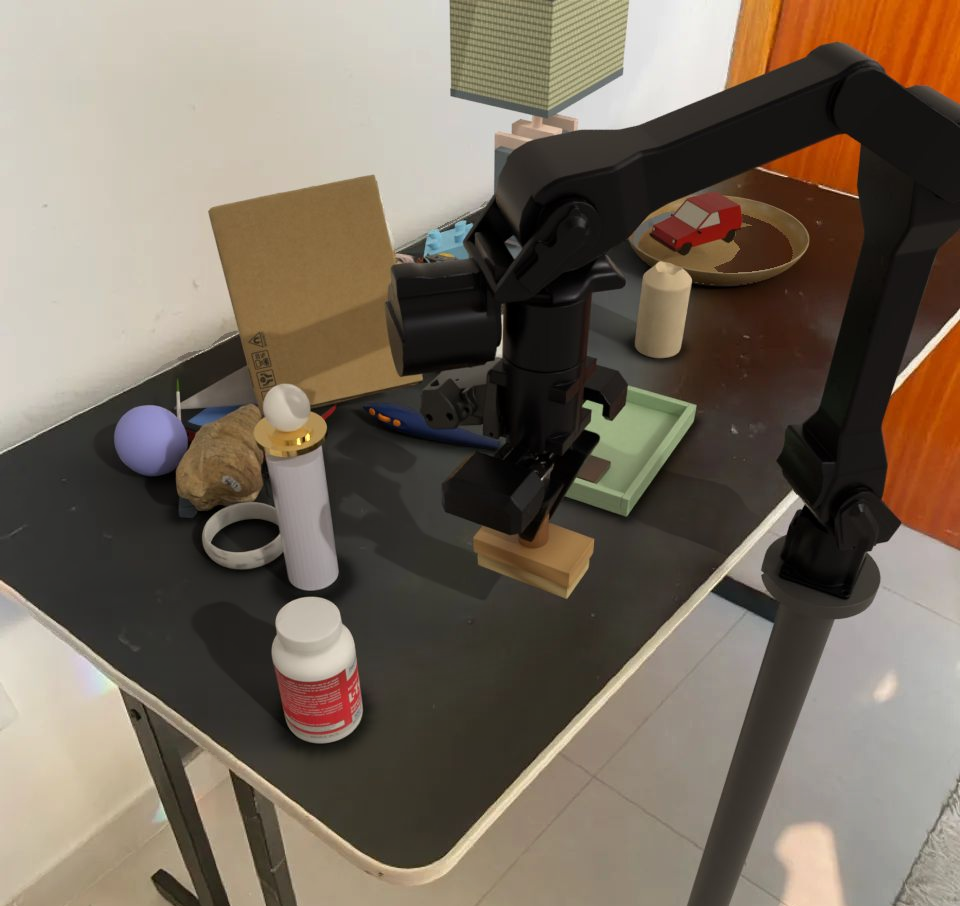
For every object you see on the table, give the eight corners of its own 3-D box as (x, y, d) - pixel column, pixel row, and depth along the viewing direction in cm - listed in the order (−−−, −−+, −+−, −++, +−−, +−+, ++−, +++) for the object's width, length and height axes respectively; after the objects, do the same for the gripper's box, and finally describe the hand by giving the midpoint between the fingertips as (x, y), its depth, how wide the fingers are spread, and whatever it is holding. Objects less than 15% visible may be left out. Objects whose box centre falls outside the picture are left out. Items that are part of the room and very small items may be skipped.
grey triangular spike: (188, 438, 108) (302, 404, 110) (183, 435, 104) (302, 399, 105) (169, 386, 107) (285, 352, 109) (163, 380, 103) (284, 345, 104)
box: (376, 171, 101) (376, 180, 103) (205, 206, 99) (209, 214, 101) (425, 381, 103) (424, 385, 105) (259, 418, 101) (262, 421, 103)
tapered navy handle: (502, 450, 105) (506, 429, 104) (491, 462, 103) (494, 441, 101) (369, 411, 109) (370, 390, 107) (354, 422, 106) (356, 400, 104)
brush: (592, 567, 81) (598, 490, 75) (568, 602, 78) (572, 526, 72) (500, 533, 84) (498, 456, 78) (474, 565, 81) (470, 489, 75)
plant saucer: (591, 264, 133) (593, 240, 130) (673, 202, 146) (676, 179, 144) (758, 315, 123) (764, 290, 121) (830, 244, 137) (836, 220, 134)
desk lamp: (541, 288, 128) (556, -6, 104) (451, 261, 133) (446, -25, 110) (609, 236, 138) (636, -42, 115) (523, 212, 144) (532, -58, 120)
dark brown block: (610, 467, 101) (611, 461, 100) (593, 488, 98) (594, 482, 98) (575, 455, 102) (575, 449, 102) (557, 476, 100) (558, 470, 99)
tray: (693, 421, 108) (697, 404, 106) (626, 517, 96) (628, 499, 95) (588, 390, 112) (589, 374, 110) (511, 478, 100) (512, 461, 99)
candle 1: (351, 560, 92) (328, 369, 77) (339, 603, 88) (312, 410, 73) (290, 556, 92) (256, 365, 78) (275, 598, 88) (236, 405, 74)
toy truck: (645, 243, 129) (651, 204, 125) (711, 225, 133) (719, 187, 130) (675, 261, 125) (682, 221, 122) (741, 242, 130) (750, 203, 126)
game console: (341, 409, 109) (339, 392, 107) (275, 473, 101) (271, 455, 99) (233, 378, 113) (229, 360, 111) (161, 436, 105) (156, 418, 103)
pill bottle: (368, 739, 77) (356, 641, 69) (290, 753, 76) (268, 656, 68) (357, 680, 82) (344, 582, 74) (282, 693, 81) (261, 595, 73)
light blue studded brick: (470, 206, 128) (487, 263, 132) (426, 220, 129) (444, 275, 134) (468, 239, 119) (485, 298, 123) (420, 254, 120) (439, 312, 125)
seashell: (200, 392, 100) (227, 354, 94) (273, 430, 104) (303, 395, 97) (155, 505, 95) (180, 473, 88) (234, 541, 98) (263, 512, 92)
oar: (192, 379, 105) (191, 376, 104) (198, 519, 96) (197, 516, 96) (173, 381, 104) (172, 378, 104) (179, 521, 96) (178, 518, 96)
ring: (204, 577, 90) (200, 561, 89) (204, 521, 96) (200, 505, 94) (293, 565, 91) (290, 549, 90) (288, 511, 97) (285, 494, 95)
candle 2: (688, 343, 119) (701, 262, 112) (668, 363, 116) (681, 282, 108) (646, 330, 121) (657, 250, 114) (626, 350, 118) (636, 269, 110)
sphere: (167, 469, 95) (96, 449, 95) (181, 494, 102) (114, 475, 101) (190, 404, 96) (119, 384, 96) (202, 432, 103) (136, 414, 103)
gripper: (504, 267, 75) (500, 439, 86) (367, 384, 64) (384, 565, 75) (640, 302, 71) (618, 477, 82) (521, 433, 60) (514, 616, 71)
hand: (535, 529), depth 78 cm, fingers closed on brush, 2 cm apart
